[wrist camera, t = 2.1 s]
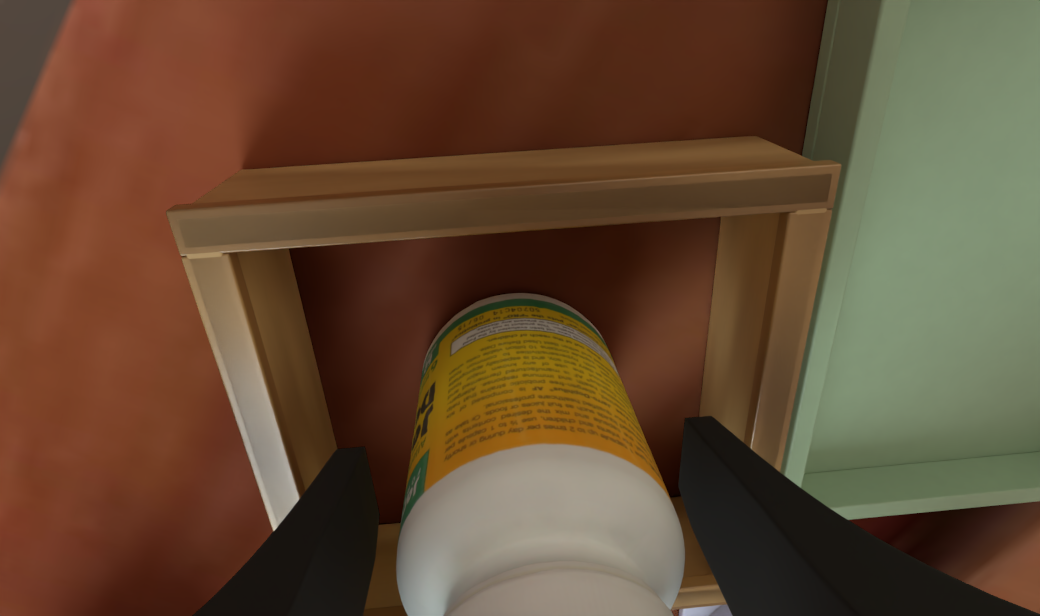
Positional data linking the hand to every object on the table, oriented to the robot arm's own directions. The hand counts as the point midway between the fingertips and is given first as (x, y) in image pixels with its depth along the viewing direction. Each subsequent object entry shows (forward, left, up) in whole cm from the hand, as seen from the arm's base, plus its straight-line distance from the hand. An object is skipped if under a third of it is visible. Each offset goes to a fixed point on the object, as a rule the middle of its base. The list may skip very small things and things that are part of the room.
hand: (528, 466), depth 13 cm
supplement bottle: (0, 0, -4) cm, 4 cm away
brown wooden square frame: (0, 0, -4) cm, 4 cm away
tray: (+3, -13, -4) cm, 14 cm away
